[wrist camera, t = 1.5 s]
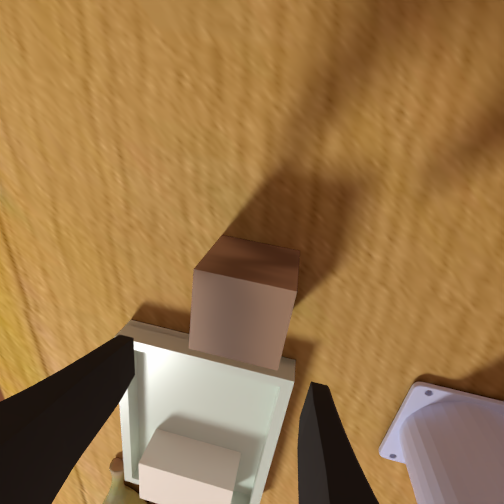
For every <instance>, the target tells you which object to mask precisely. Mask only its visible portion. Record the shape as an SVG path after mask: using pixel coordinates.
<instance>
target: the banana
mask: <svg viewBox="0 0 504 504" xmlns="http://www.w3.org/2000/svg"><path fill="white" fill-rule="evenodd" d="M109 469H110V471H111V474H112V485H111V488H110V490H109V493H108V495H107V496H106V498H105V500H104V502H103V504H148V503H147V502H146V501H145V500H144V499H141V498H140V496H139V494H138V493H137V492H136V491H134V490H133V489H131V488H130V487H128V486H126V485H124V463H123V460H122V459H120V458H117V457H116V458H114V459H113V460H112V462H111V464H110V467H109Z"/></svg>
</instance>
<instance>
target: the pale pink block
mask: <svg viewBox="0 0 504 504" xmlns="http://www.w3.org/2000/svg"><path fill="white" fill-rule="evenodd" d="M240 456H241V452H237V451H234V450H230V449H227V448H223V447H220V446H216V445H212V444H209V443H205V442H202V441H198V440H195V439H191V438H188V437H184V436H181V435H177V434H174V433H170V432H167V431H163V430H160V429H156V430H155V432H154V434H153V436H152V438H151V439H150V441H149V443H148V445H147V447H146V449H145V451H144V453H143V455H142V457H141V459H140V461H139V463H138V465H139V496H140V498H141V499H144V500H147V501H151V502H154V503H157V504H231V499H232V495H233V490H234V485H235V480H236V475H237V470H238V466H239V461H240Z"/></svg>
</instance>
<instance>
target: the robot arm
mask: <svg viewBox="0 0 504 504" xmlns="http://www.w3.org/2000/svg"><path fill="white" fill-rule="evenodd" d="M134 376H135V361H134V338H132V337H128V336H124V335H120V334H119V335H118V336H116V337H114V338H113V339H111V340H110V341H108V342H106V343H105V344H103V345H101V346H100V347H98V348H97V349H95V350H93V351H92V352H90V353H88V354H87V355H85V356H84V357H82V358H80V359H79V360H77V361H75V362H74V363H72V364H70V365H69V366H67V367H65V368H64V369H62V370H60V371H58V372H56V373H55V374H53V375H51V376H49V377H47V378H46V379H44V380H42V381H40V382H38V383H37V384H35V385H33V386H31V387H29V388H27V389H25V390H23V391H21V392H19V393H17V394H15V395H13V396H11V397H9V398H7V399H5V400H3V401H1V402H0V504H52V502H53V500H54V499H55V497H56V495H57V494H58V492H59V490H60V489H61V487H62V485H63V484H64V482H65V480H66V479H67V477H68V475H69V474H70V472H71V470H72V469H73V467H74V466H75V464H76V463H77V461H78V460H79V458H80V457H81V455H82V454H83V453H84V451H85V450H86V448H87V447H88V446H89V444H90V443H91V441H92V440H93V439H94V437H95V436H96V434H97V433H98V432H99V430H100V429H101V427H102V426H103V425H104V423H105V422H106V420H107V419H108V418H109V416H110V415H111V413H112V412H113V411H114V409H115V408H116V406H117V405H118V403H119V402H120V401H121V399H122V397H123V396H124V394H125V392H126V390H127V389H128V387H129V385H130V383H131V381H132V379H133V378H134ZM428 390H430V391H428ZM379 454H380V456H381V457H383V458H386V459H390V460H394V461H397V462H401V463H405V464H406V466H407V470H408V473H409V476H410V480H411V483H412V487H413V490H414V493H415V497H416V500H417V504H504V401H500V400H495V399H491V398H487V397H483V396H479V395H475V394H470V393H466V392H462V391H458V390H454V389H450V388H446V387H441V386H437V385H433V384H429V383H425V382H415V383H414V384H413V385H412V386H411V388H410V390H409V392H408V394H407V396H406V398H405V399H404V401H403V403H402V405H401V407H400V409H399V411H398V413H397V415H396V417H395V418H394V420H393V422H392V424H391V426H390V428H389V430H388V432H387V434H386V436H385V437H384V439H383V441H382V443H381V445H380V447H379ZM298 491H299V504H379V502H378V501H377V499H376V497H375V495H374V493H373V491H372V489H371V487H370V485H369V483H368V481H367V479H366V477H365V475H364V473H363V471H362V469H361V467H360V465H359V463H358V460H357V458H356V456H355V454H354V452H353V449H352V447H351V445H350V442H349V440H348V438H347V435H346V433H345V430H344V428H343V426H342V423H341V420H340V418H339V415H338V412H337V410H336V407H335V404H334V401H333V398H332V395H331V392H330V389H329V387H328V386H327V385H323V384H319V383H315V382H311V383H310V387H309V390H308V393H307V396H306V399H305V403H304V406H303V409H302V412H301V415H300V421H299V434H298Z"/></svg>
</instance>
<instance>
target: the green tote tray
mask: <svg viewBox="0 0 504 504" xmlns="http://www.w3.org/2000/svg"><path fill="white" fill-rule="evenodd" d="M119 334H120V335H124V336H128V337H132V338H134V361H135V376H134V378H133V379H132V381H131V383H130V385H129V387H128V389H127V390H126V392H125V394H124V396H123V397H122V399H121V401H120V402H119V405H120V420H121V434H122V449H123V463H124V478H125V481H128V482H131V483H135V484H138V485H139V465H138V463H139V461H140V459H141V457H142V455H143V453H144V451H145V449H146V447H147V445H148V443H149V441H150V439H151V438H152V436H153V434H154V432H155V430H156V429H160V430H163V431H167V432H170V433H174V434H177V435H181V436H184V437H188V438H191V439H195V440H198V441H202V442H205V443H209V444H212V445H216V446H220V447H223V448H227V449H230V450H234V451H237V452H241V456H240V461H239V466H238V470H237V475H236V480H235V485H234V490H233V495H232V499H231V504H260V500H261V497H262V493H263V490H264V486H265V483H266V479H267V476H268V472H269V469H270V465H271V462H272V458H273V455H274V451H275V448H276V444H277V441H278V437H279V434H280V430H281V427H282V423H283V420H284V416H285V413H286V410H287V406H288V403H289V399H290V396H291V392H292V389H293V385H294V381H295V362H296V360H294V359H289V358H285V357H281V359H280V363H279V368H278V371H277V370H273V369H269V368H265V367H261V366H257V365H253V364H249V363H245V362H241V361H237V360H233V359H229V358H225V357H221V356H217V355H213V354H209V353H205V352H201V351H197V350H193V349H189V334H187V333H183V332H179V331H175V330H171V329H167V328H162V327H158V326H154V325H150V324H146V323H142V322H138V321H134V320H130V321H129V322H128V323H127V324H126V325H125V326H124V327H123V328H122V329H121V330H120V331H119V333H118V334H117V335H116V336H118V335H119ZM116 336H115V337H116Z"/></svg>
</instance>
